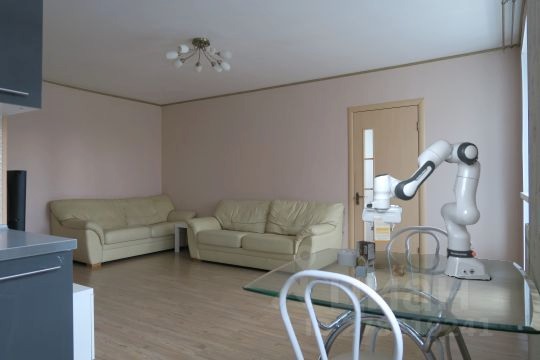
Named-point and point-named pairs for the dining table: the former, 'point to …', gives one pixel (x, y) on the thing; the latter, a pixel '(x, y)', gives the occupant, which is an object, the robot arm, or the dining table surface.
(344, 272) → the dining table surface
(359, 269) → the slate block
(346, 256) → the lumpy-topped squat cylinder
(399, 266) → the walnut block
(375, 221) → the supplement box
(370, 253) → the coffee box
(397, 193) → the robot arm
